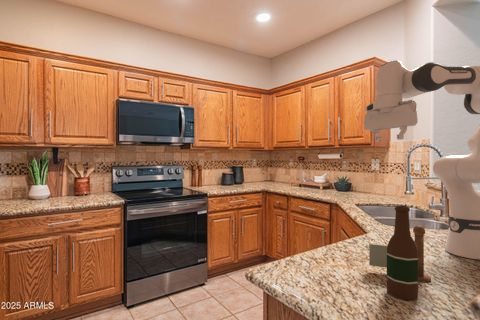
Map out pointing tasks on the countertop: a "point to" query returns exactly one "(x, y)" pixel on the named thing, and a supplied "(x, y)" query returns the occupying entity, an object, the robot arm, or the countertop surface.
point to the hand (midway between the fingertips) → (388, 140)
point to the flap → (378, 255)
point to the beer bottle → (402, 259)
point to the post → (420, 253)
